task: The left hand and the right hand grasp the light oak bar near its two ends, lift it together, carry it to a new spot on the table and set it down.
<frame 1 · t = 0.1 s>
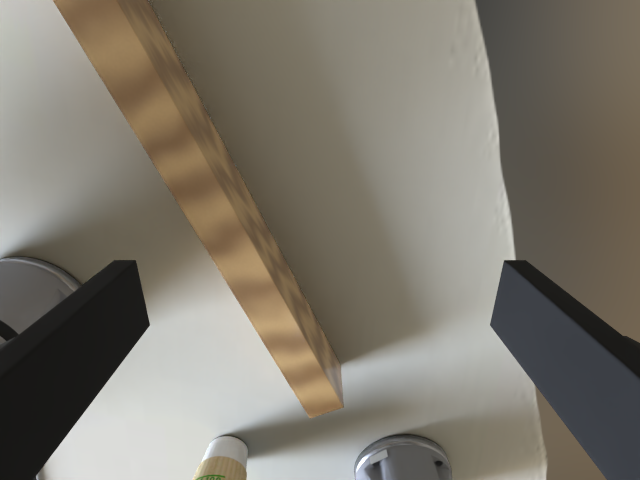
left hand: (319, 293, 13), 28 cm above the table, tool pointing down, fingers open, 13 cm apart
coffee cup: (228, 448, 55), on the table
bar: (221, 179, 39), on the table
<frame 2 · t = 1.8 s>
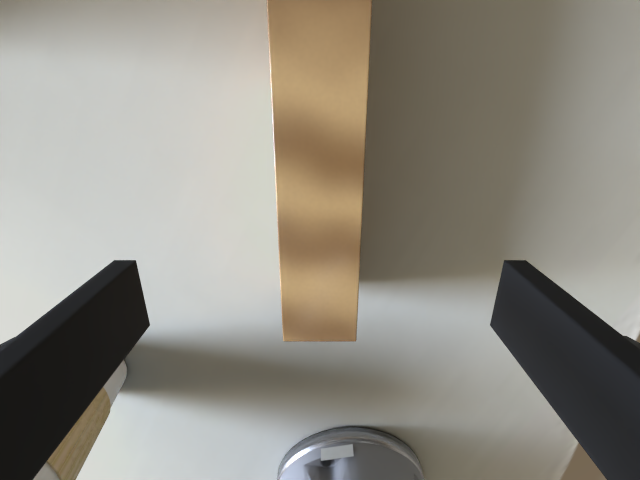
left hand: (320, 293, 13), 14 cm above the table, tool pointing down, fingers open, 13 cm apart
coffee cup: (93, 364, 32), on the table
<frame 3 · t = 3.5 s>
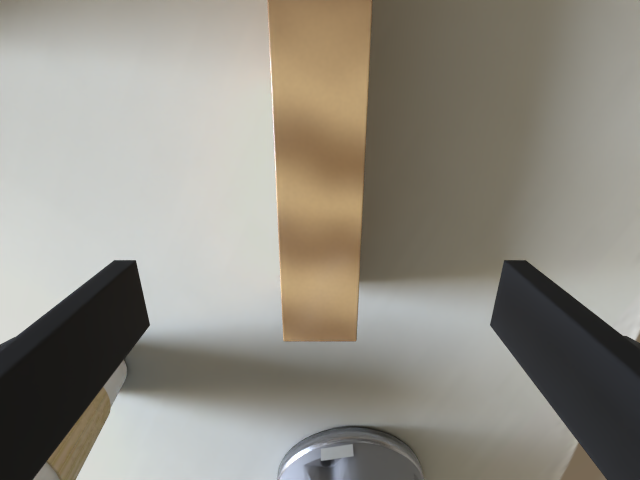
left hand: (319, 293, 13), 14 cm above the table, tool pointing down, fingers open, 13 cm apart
coffee cup: (93, 364, 32), on the table
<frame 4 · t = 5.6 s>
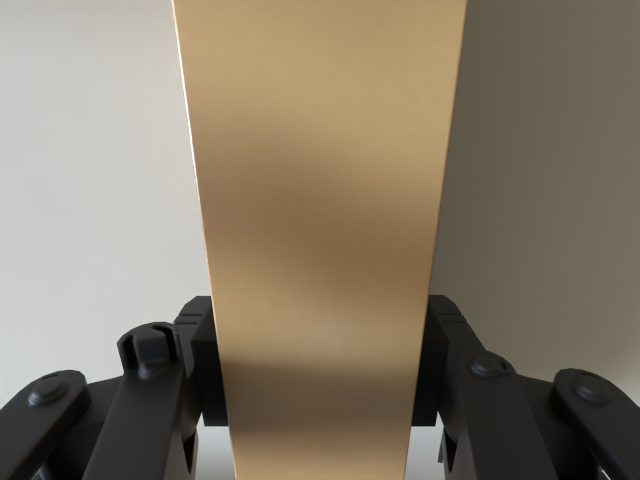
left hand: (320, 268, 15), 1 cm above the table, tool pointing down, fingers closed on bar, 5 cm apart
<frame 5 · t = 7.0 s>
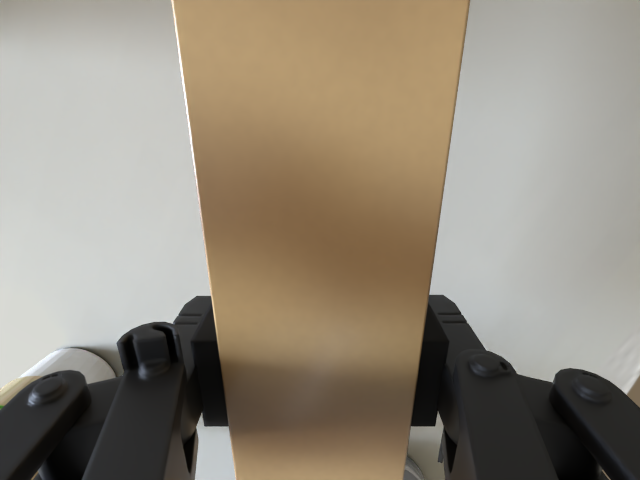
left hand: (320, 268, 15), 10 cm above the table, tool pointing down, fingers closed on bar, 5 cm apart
coffee cup: (81, 375, 30), on the table
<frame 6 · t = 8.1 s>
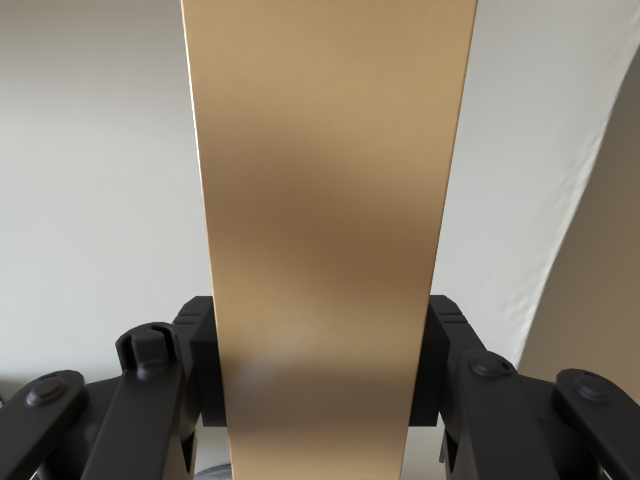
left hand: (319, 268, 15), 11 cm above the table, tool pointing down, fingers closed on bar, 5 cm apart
when the left hand's fingers open (2 cm above the table, at t = 10.7 s): bar drops 1 cm, on the table.
when the right hand's fingers open (2 cm above the table, at t = 10.7 s): bar drops 1 cm, on the table.
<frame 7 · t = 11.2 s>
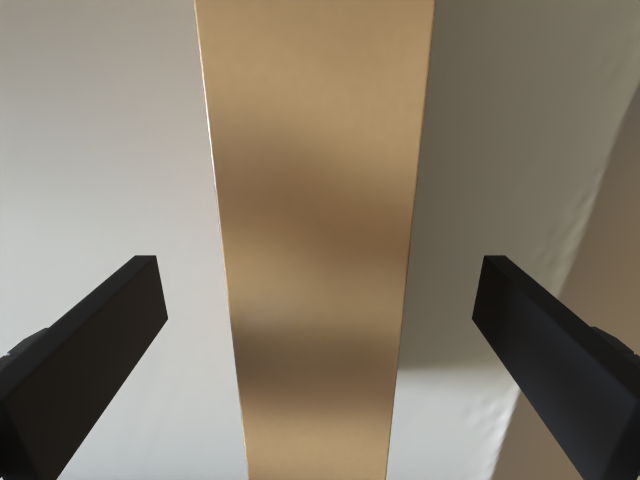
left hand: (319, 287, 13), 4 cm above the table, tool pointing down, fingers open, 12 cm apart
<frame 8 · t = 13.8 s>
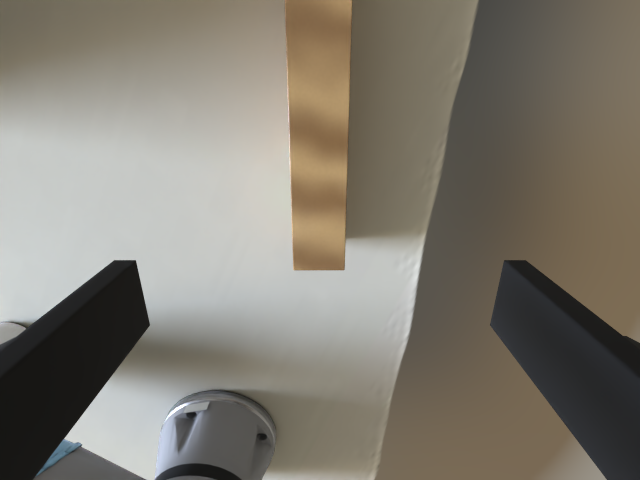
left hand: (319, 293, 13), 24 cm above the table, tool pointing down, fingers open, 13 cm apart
coffee cup: (15, 342, 43), on the table
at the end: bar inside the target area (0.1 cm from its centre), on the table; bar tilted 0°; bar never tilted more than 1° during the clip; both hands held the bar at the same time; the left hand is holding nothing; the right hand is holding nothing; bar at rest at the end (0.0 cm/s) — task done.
